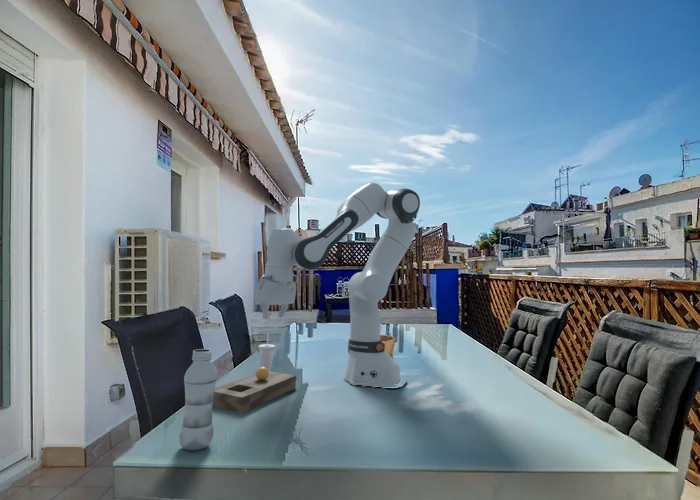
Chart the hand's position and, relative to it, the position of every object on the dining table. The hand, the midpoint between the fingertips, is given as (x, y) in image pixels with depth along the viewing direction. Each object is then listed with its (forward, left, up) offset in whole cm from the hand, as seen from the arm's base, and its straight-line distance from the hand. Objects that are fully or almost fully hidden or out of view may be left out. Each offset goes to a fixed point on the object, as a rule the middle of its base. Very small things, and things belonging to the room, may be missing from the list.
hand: (274, 318), depth 124 cm
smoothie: (+14, -15, -23) cm, 31 cm away
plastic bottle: (-12, +43, -23) cm, 50 cm away
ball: (-1, +7, -16) cm, 18 cm away
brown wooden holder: (-1, +10, -22) cm, 24 cm away
